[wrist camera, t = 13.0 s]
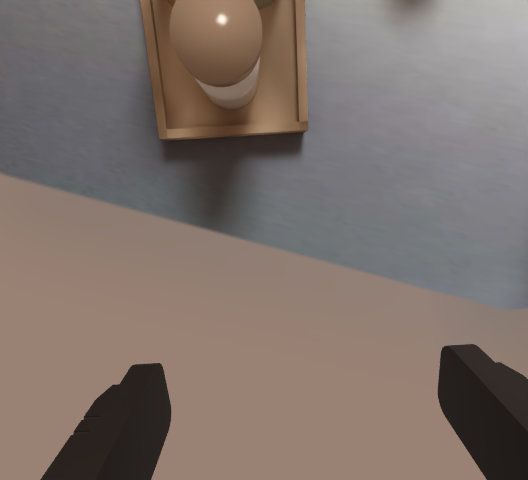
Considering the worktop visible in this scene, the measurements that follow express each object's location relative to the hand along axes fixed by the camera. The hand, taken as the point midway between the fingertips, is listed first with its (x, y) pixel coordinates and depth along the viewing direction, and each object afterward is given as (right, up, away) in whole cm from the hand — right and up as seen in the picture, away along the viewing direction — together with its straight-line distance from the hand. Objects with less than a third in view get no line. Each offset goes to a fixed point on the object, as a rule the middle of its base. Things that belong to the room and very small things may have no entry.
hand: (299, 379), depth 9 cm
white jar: (-4, +19, +20) cm, 28 cm away
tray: (-4, +23, +21) cm, 31 cm away
